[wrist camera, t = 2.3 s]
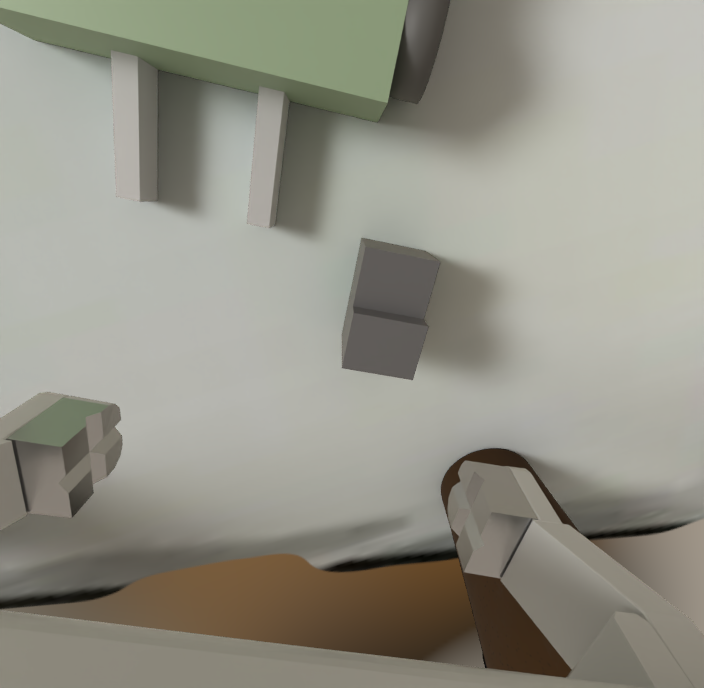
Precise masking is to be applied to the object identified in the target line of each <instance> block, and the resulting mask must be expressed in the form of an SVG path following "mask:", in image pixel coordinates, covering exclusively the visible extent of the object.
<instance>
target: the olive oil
mask: <svg viewBox="0 0 704 688" xmlns="http://www.w3.org/2000/svg"><path fill="white" fill-rule="evenodd" d="M465 460H466V461H472V462H479V463H485V464H491V465H498V466H509V467H517V468H525V469H527V470H528V471H529V472H530V473H531V474H532V476H533V477H534V479H535V480H536V482H537V484H538V485H539V487H540V488H541V490H542V492H543V493H544V495H545V496H546V498H547V500H548V501H549V503H550V504H551V506H552V508H553V509H554V511H555V512H556V514H557V516H558V517H559V519H560V520H561V522H562V524H567V525H570V526H571V527H573V528H574V529H575V530H576V531H578V529H577V528H576V527H575V525H574V524H573V523H572V521H571V520H570V519H569V517H568V516H567V515H566V514H565V512H564V511H563V510H562V508H561V507H560V506H559V504H558V503H557V502H556V500H555V499H554V498H553V496H552V495H551V493H550V492H549V491H548V489H547V488H546V487H545V485H544V484H543V483H542V481H541V480H540V478H539V477H538V476H537V474H536V473H535V472H534V470H533V469H532V467H531V466H530V465H529V464H528V462H527V461H526V460H525V459H524V458H522V457H521V456H520V455H518V454H516V453H514V452H512V451H509V450H504V449H484V450H479V451H476V452H473V453H470V454H468V455H466V456H464V457H462V458H461V459H459V460H458V461H457V462H456V463H454V464H453V465H452V466H451V467H450V469H449V470H448V471H447V473H446V474H445V476H444V478H443V481H442V485H441V495H442V500H443V503H444V507H445V510H446V514H447V517H448V499H449V495H450V492H451V489H452V487H453V486H455V485H456V484H457V483H459V482H460V478H459V475H458V471H459V469H460V467H461V465H462V463H463V462H464V461H465ZM448 521H449V519H448ZM449 524H450V522H449ZM450 528H451V526H450ZM451 531H452V535H453V539H454V543H455V547H456V543H457V541H458V538H459V536H458V535H457V534H456V533H455V532H454V530H453V529H452V528H451ZM578 532H579V531H578ZM579 533H580V532H579ZM580 534H581V533H580ZM456 551H457V547H456ZM457 554H458V551H457ZM458 558H459V562H460V566H461V570H462V573H463V577H464V581H465V585H466V589H467V592H468V596H469V600H470V604H471V608H472V612H473V616H474V620H475V624H476V628H477V632H478V636H479V640H480V644H481V648H482V651H483V661H484V664H485V668H489V669H497V670H505V671H514V672H522V673H530V674H539V675H547V676H555V677H564V678H566V677H567V676H568V675H569V673H570V672H571V671H572V669H571V668H570V667H569V666H568V664H567V663H566V662H565V661H564V659H563V658H562V657H561V656H560V654H559V653H558V652H557V651H556V649H555V648H554V647H553V646H552V644H551V643H550V642H549V641H548V639H547V638H546V637H545V636H544V634H543V633H542V632H541V631H540V629H539V628H538V627H537V626H536V624H535V623H534V622H533V621H532V619H531V618H530V617H529V616H528V614H527V613H526V612H525V611H524V609H523V608H522V607H521V606H520V604H519V603H518V602H517V601H516V599H515V598H514V597H513V596H512V594H511V593H510V592H509V590H508V589H507V588H506V587H505V585H504V584H503V583H502V582H501V578H495V577H489V576H483V575H477V574H471V573H465V572H464V571H463V568H462V564H461V561H460V557H459V554H458Z"/></svg>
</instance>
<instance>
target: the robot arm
mask: <svg viewBox="0 0 704 688" xmlns="http://www.w3.org/2000/svg"><path fill="white" fill-rule="evenodd" d="M120 420H121V415H120V408H119V407H118V406H117V405H116V404H113V403H108V402H102V401H97V400H91V399H86V398H80V397H75V396H68V395H63V394H57V393H51V392H44V393H39V394H37V395H36V396H34V397H33V398H31V399H30V400H28V401H26V402H25V403H23V404H22V405H20V406H19V407H17V408H16V409H14V410H13V411H11V412H10V413H8V414H6V415H5V416H3V417H2V418H0V531H1V530H2V529H4V528H6V527H8V526H9V525H11V524H13V523H15V522H16V521H18V520H20V519H22V518H24V517H25V516H27V513H30V514H39V515H49V516H58V517H67V518H72V517H73V516H74V515H75V514H76V513H77V512H78V510H79V509H80V508H81V507H82V506H83V505H84V503H85V502H86V501H87V500H88V499H89V498H90V496H91V495H92V494H93V493H94V492H93V484H94V483H96V482H98V481H100V480H102V479H104V478H106V477H107V476H108V475H109V474H110V473H111V471H112V470H113V469H114V468H115V466H116V464H117V462H118V460H119V457H120V455H121V450H122V435H121V434H120V433H119V431H118V430H117V429H116V428H115V426H116V425H117V424H118V423H119V421H120ZM458 475H459V478H460V482H459V483H457V484H456V485H455V486H453V487H452V489H451V492H450V495H449V499H448V519H449V522H450V526H451V528H452V529H453V530H454V532H455V533H456V534H457V535H458V536H459V538H458V541H457V543H456V547H457V551H458V554H459V557H460V561H461V564H462V568H463V571H464V572H465V573H471V574H477V575H483V576H489V577H495V578H501V582H502V583H503V584H504V585H505V587H506V588H507V589H508V590H509V592H510V593H511V594H512V596H513V597H514V598H515V599H516V601H517V602H518V603H519V604H520V606H521V607H522V608H523V609H524V611H525V612H526V613H527V614H528V616H529V617H530V618H531V619H532V621H533V622H534V623H535V624H536V626H537V627H538V628H539V629H540V631H541V632H542V633H543V634H544V636H545V637H546V638H547V639H548V641H549V642H550V643H551V644H552V646H553V647H554V648H555V649H556V651H557V652H558V653H559V654H560V656H561V657H562V658H563V659H564V661H565V662H566V663H567V664H568V666H569V667H570V668H571V669H572V671H571V672H570V673H569V675H568V676H567V677H566V678H564V677H555V676H547V675H539V674H530V673H522V672H514V671H505V670H497V669H489V668H479V667H472V666H463V665H455V664H446V663H438V662H429V661H421V660H413V659H403V658H395V657H387V656H378V655H370V654H362V653H353V652H345V651H336V650H328V649H320V648H311V647H302V646H294V645H285V644H277V643H269V642H260V641H253V640H243V639H236V638H227V637H219V636H211V635H202V634H193V633H186V632H178V631H169V630H161V629H153V628H144V627H135V626H128V625H120V624H119V625H118V624H111V623H103V622H94V621H86V620H78V619H69V618H61V617H53V616H44V615H35V614H28V613H19V612H11V611H3V610H0V688H704V635H703V634H702V633H701V631H700V630H699V629H698V627H697V626H696V625H695V624H694V622H693V621H692V620H691V619H690V618H689V617H687V616H686V615H685V614H683V613H682V612H681V611H680V610H678V609H677V608H676V607H674V606H673V605H672V604H671V603H669V602H668V601H667V600H665V599H664V598H663V597H661V596H660V595H659V594H658V593H656V592H655V591H654V590H652V589H651V588H650V587H649V586H647V585H646V584H645V583H643V582H642V581H641V580H639V579H638V578H637V577H636V576H634V575H633V574H632V573H631V572H629V571H628V570H627V569H625V568H624V567H623V566H621V565H620V564H619V563H618V562H616V561H615V560H614V559H613V558H611V557H610V556H609V555H607V554H606V553H605V552H604V551H602V550H601V549H600V548H598V547H597V546H596V545H595V544H593V543H592V542H591V541H589V540H588V539H587V538H585V537H584V536H583V535H582V534H580V533H579V532H578V531H576V530H575V529H574V528H573V527H571V526H570V525H567V524H562V522H561V520H560V519H559V517H558V516H557V514H556V512H555V511H554V509H553V508H552V506H551V504H550V503H549V501H548V500H547V498H546V496H545V495H544V493H543V492H542V490H541V488H540V487H539V485H538V484H537V482H536V480H535V479H534V477H533V476H532V474H531V473H530V472H529V471H528V470H527V469H525V468H517V467H509V466H498V465H491V464H485V463H479V462H472V461H466V460H465V461H464V462H463V463H462V465H461V467H460V469H459V471H458Z"/></svg>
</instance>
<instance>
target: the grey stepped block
mask: <svg viewBox="0 0 704 688" xmlns="http://www.w3.org/2000/svg"><path fill="white" fill-rule="evenodd" d="M439 265H440V261H438V260H437V259H436V258H434V257H433V256H431V255H430V254H429V253H427V252H426V251H423V250H418V249H414V248H409V247H404V246H399V245H394V244H389V243H385V242H380V241H375V240H370V239H365V238H361V243H360V248H359V253H358V257H357V262H356V267H355V272H354V277H353V282H352V287H351V292H350V297H349V301H348V306H347V311H346V316H345V321H344V326H343V331H342V368H344V369H350V370H356V371H362V372H368V373H374V374H380V375H386V376H392V377H398V378H404V379H409V380H413V378H414V374H415V371H416V367H417V364H418V361H419V357H420V354H421V351H422V347H423V344H424V341H425V337H426V334H427V330H428V325H427V323H426V322H425V320H424V317H425V314H426V310H427V307H428V303H429V300H430V296H431V293H432V289H433V286H434V283H435V279H436V276H437V272H438V269H439Z"/></svg>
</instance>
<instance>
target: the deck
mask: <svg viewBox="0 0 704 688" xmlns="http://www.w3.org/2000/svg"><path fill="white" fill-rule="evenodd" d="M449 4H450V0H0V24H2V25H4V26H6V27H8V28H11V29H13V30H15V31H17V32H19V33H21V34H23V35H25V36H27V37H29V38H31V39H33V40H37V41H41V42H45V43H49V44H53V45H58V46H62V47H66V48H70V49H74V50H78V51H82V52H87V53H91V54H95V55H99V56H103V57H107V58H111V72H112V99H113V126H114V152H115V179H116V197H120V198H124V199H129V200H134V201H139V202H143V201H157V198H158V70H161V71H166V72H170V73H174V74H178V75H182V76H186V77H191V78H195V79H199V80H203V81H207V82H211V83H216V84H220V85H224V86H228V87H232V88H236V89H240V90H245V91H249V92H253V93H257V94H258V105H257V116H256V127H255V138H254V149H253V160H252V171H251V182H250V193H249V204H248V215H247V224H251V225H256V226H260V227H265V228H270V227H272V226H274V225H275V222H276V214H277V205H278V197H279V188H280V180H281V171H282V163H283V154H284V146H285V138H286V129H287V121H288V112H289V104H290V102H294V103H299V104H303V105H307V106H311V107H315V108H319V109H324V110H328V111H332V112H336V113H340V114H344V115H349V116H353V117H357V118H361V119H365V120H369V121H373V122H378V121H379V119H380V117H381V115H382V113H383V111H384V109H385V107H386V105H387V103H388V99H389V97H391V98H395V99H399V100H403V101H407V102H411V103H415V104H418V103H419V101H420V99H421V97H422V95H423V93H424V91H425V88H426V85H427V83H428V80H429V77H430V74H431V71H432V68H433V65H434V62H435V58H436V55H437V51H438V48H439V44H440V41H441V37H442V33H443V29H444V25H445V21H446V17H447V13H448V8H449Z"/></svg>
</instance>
